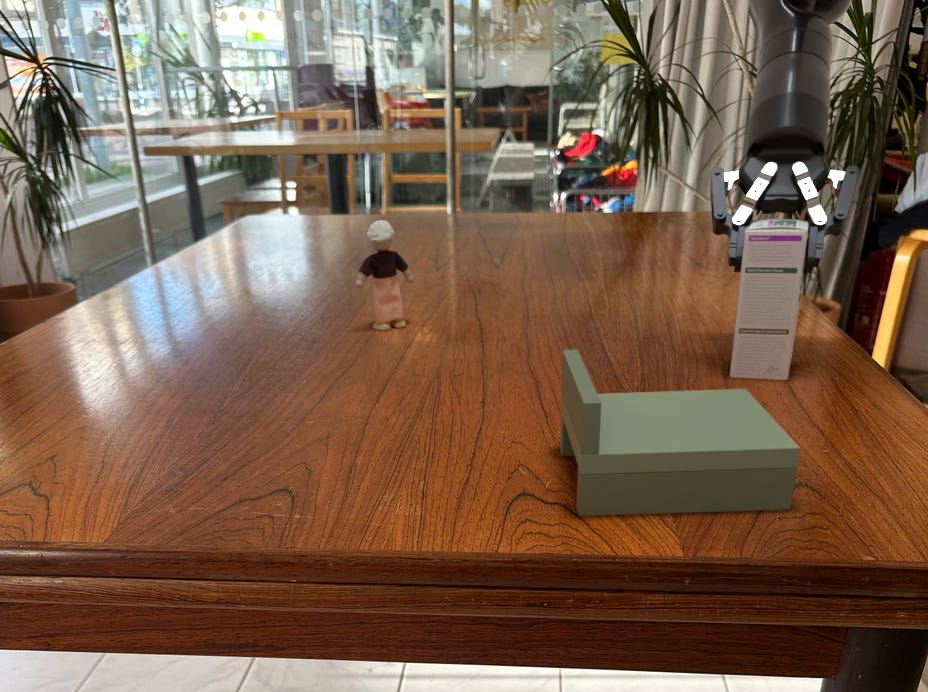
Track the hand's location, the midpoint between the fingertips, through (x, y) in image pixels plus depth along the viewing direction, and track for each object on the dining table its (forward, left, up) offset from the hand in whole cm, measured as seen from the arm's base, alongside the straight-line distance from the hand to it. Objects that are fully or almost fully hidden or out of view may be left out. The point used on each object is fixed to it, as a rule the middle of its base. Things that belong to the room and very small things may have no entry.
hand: (773, 267), depth 90 cm
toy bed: (+15, +26, -11) cm, 32 cm away
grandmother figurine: (+40, -29, -11) cm, 50 cm away
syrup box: (0, -2, -11) cm, 11 cm away
